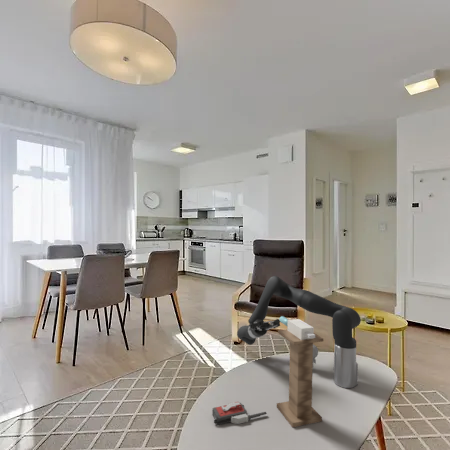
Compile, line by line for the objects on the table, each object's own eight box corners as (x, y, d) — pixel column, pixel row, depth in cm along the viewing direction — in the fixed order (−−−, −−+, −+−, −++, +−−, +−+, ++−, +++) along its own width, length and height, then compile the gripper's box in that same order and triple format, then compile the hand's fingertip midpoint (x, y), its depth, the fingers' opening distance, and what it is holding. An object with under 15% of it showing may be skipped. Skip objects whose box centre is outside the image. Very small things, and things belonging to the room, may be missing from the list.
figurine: (312, 364, 154) (312, 340, 154) (320, 371, 146) (321, 346, 146) (297, 366, 152) (298, 342, 151) (305, 373, 144) (306, 348, 144)
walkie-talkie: (216, 430, 104) (267, 418, 111) (216, 418, 104) (268, 406, 111) (208, 415, 112) (257, 404, 119) (208, 403, 112) (257, 393, 119)
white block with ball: (286, 321, 128) (286, 311, 128) (318, 341, 106) (318, 330, 106) (275, 322, 127) (275, 312, 126) (305, 343, 105) (306, 331, 105)
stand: (303, 402, 121) (305, 327, 120) (321, 421, 109) (323, 338, 109) (276, 407, 117) (278, 330, 117) (292, 427, 106) (294, 342, 105)
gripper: (242, 322, 150) (254, 314, 137) (268, 320, 154) (282, 312, 141) (245, 338, 147) (257, 331, 133) (271, 335, 151) (286, 329, 137)
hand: (270, 322), depth 137 cm, fingers open, 8 cm apart
